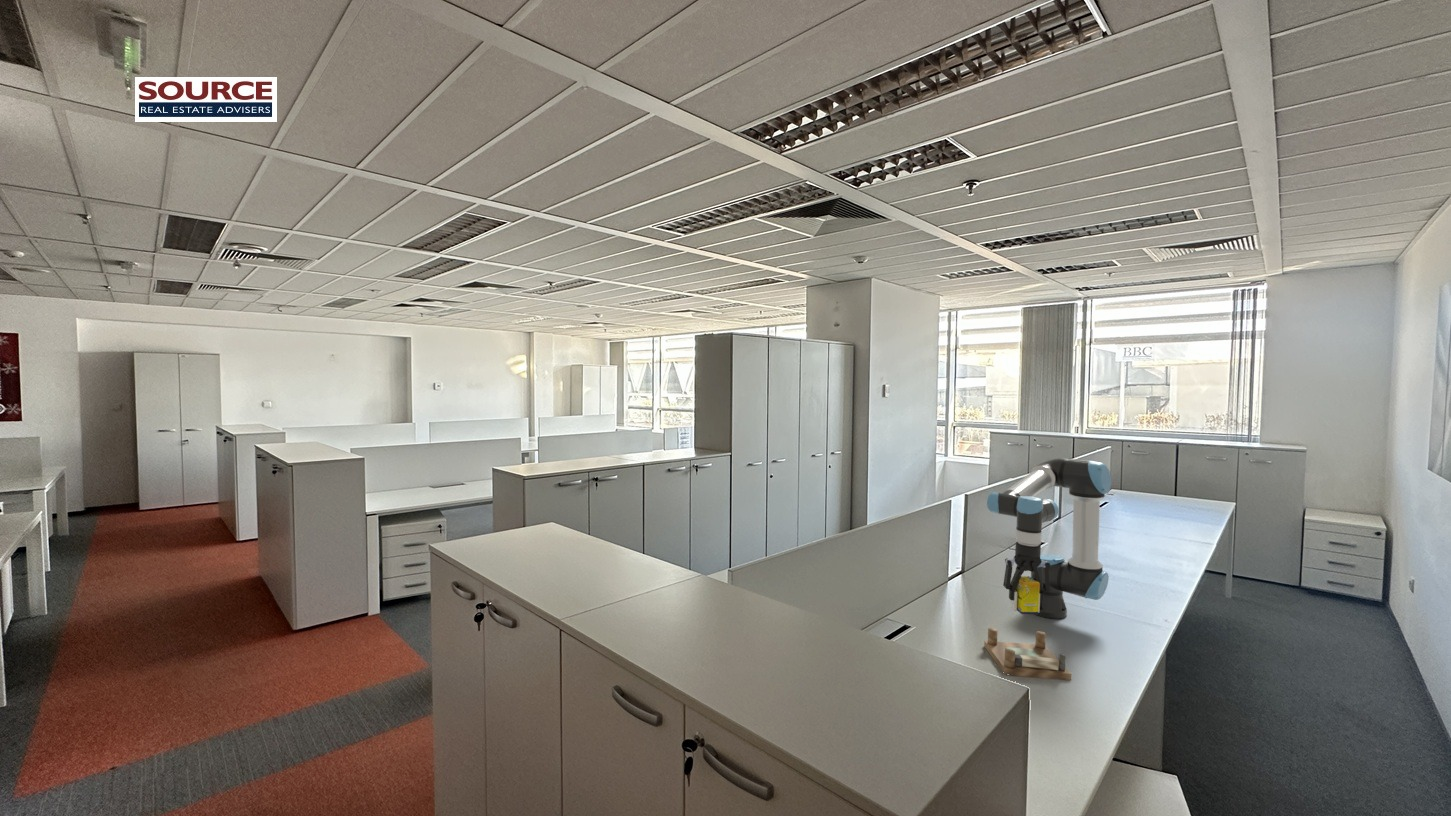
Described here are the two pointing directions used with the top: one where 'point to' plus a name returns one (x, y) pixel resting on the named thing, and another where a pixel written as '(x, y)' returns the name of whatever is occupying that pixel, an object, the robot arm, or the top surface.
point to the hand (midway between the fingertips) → (1025, 610)
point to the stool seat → (1006, 655)
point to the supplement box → (1027, 595)
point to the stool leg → (1036, 662)
